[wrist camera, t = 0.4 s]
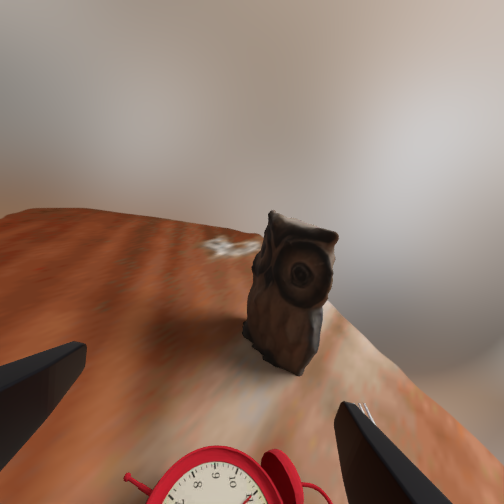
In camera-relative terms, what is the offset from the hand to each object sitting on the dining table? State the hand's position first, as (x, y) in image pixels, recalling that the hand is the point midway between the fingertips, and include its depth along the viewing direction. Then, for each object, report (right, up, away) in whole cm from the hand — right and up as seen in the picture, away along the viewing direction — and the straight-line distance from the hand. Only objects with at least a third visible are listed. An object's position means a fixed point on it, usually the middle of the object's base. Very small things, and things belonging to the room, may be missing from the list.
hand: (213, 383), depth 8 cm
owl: (+6, -10, +30) cm, 32 cm away
